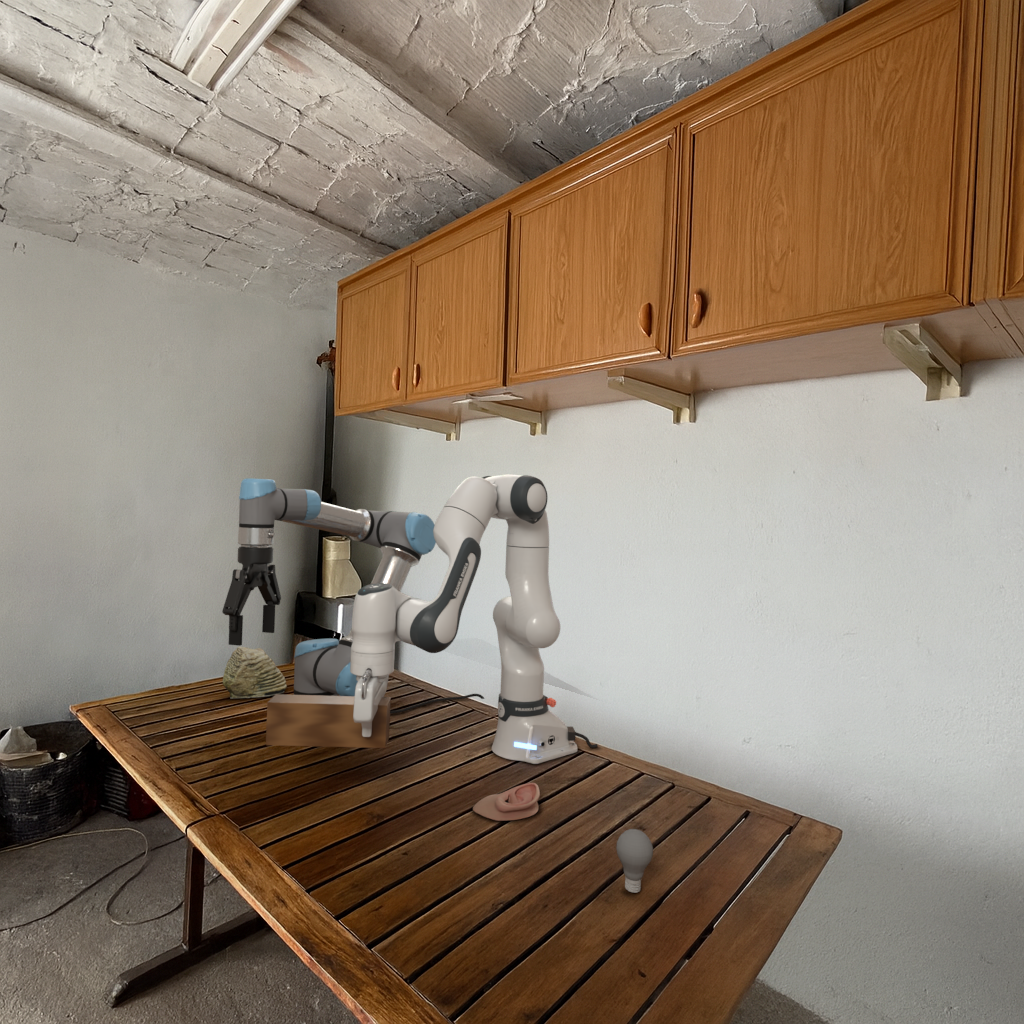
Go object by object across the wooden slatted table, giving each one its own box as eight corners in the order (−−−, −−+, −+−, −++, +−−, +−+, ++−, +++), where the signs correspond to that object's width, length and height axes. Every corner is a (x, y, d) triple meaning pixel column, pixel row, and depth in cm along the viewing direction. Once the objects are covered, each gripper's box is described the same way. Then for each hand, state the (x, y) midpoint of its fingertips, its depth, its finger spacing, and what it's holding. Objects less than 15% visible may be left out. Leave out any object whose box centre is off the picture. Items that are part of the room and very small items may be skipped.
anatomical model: (469, 797, 128) (483, 773, 139) (468, 816, 128) (482, 791, 139) (534, 806, 125) (543, 781, 136) (533, 826, 125) (542, 799, 136)
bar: (265, 745, 127) (267, 702, 127) (274, 735, 132) (275, 694, 132) (385, 748, 128) (387, 705, 128) (389, 738, 134) (390, 697, 133)
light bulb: (610, 879, 108) (613, 822, 108) (644, 879, 109) (647, 822, 109) (619, 902, 102) (622, 840, 102) (655, 901, 103) (658, 840, 103)
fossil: (218, 695, 195) (220, 647, 195) (278, 685, 208) (279, 640, 207) (228, 703, 189) (230, 653, 188) (289, 692, 201) (290, 645, 201)
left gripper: (239, 550, 132) (235, 652, 132) (297, 543, 157) (294, 628, 157) (206, 548, 133) (203, 649, 133) (269, 541, 158) (266, 626, 158)
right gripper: (380, 677, 120) (377, 749, 121) (394, 651, 141) (391, 713, 141) (346, 676, 120) (343, 749, 120) (365, 650, 140) (363, 712, 141)
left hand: (252, 638), depth 145 cm, fingers open, 13 cm apart
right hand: (369, 729), depth 131 cm, fingers closed on bar, 5 cm apart
